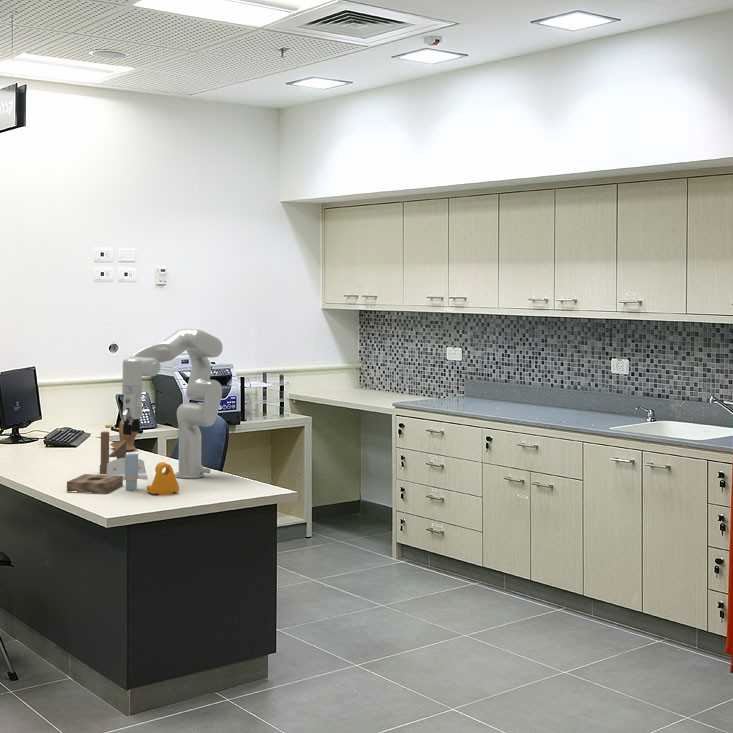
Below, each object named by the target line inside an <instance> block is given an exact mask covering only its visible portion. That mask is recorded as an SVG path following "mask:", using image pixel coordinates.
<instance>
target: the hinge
mask: <svg viewBox="0 0 733 733" xmlns="http://www.w3.org/2000/svg"><path fill="white" fill-rule="evenodd" d="M105 475H116V476H123V480H124V479H125V458H119V459H117V458H116V459H112V460H109V462H108V463H107V473H106V474H105ZM138 479H143V480H148V474H147V469H146V466H145V461H144V460H142V459H141V458H138Z"/></svg>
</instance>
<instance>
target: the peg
mask: <svg viewBox="0 0 733 733" xmlns="http://www.w3.org/2000/svg"><path fill="white" fill-rule="evenodd" d="M138 459H139V453H126V455H125V479H124V480H126V481H125V491H136V490H137V489H138V480H137V479H138Z"/></svg>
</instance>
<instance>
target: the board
mask: <svg viewBox="0 0 733 733" xmlns="http://www.w3.org/2000/svg"><path fill="white" fill-rule="evenodd" d="M123 483H124V481H123V476H116V475H106V474H92V473H91V474H89V473H84V474H82V475H80V476H78V477H75V478H73V479H72V478H71V480H68V481H66V492H67V491H77V492H92V493H91V494H97V493H105V494H104V495H107V493H108V494H110V493H112V492H113V491H115V490H117V489H119V488H120V487H123V486H124V484H123Z"/></svg>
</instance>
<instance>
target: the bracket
mask: <svg viewBox="0 0 733 733" xmlns="http://www.w3.org/2000/svg"><path fill="white" fill-rule="evenodd" d="M164 468H165V470H164ZM154 470H155V475H154V477H153V480H152V483H151V485H147V486H146V492H148V493H150V494H152V495H153V494H156V495H158V496H164V495H165V496H166V495H173V493H177V492H179V491H180V486H179V483H178V480H177V477H175V472H174V469H173V467H172V466H171V465H170V464H168V463H166V462H158V463H157V464H156V466H155V468H154ZM163 470H164V472H163Z"/></svg>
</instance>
